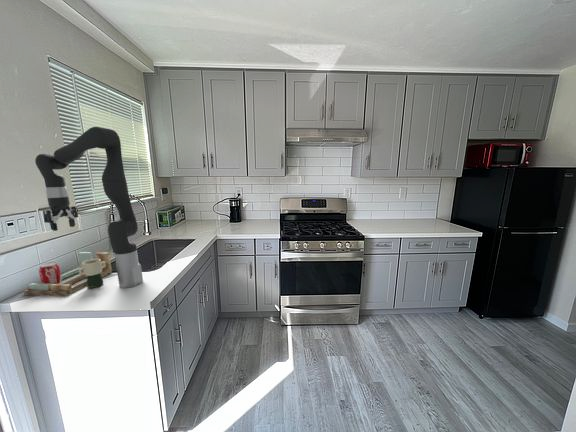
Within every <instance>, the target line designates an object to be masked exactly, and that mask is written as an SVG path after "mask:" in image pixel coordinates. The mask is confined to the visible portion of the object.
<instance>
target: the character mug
mask: <svg viewBox="0 0 576 432" xmlns="http://www.w3.org/2000/svg"><path fill="white" fill-rule="evenodd" d="M102 263H103V266H102ZM82 266H83V267H82V268H81V267H78V268H79V272H78V273H79V274H80V275H82V274H85V275H86V276H88V277H86V279H87V285H86V287H88V288H98V287H100V286H101V285H103V284H104V280H103V277H102V276H101V274H100V273H102V268H104V267H106V265H105V261H103V262H101V259H96V258H93V259H91V260H87V261H84V262H83V263H82ZM82 269H83V271H81V270H82ZM79 274H78V275H79Z"/></svg>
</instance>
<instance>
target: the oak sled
mask: <svg viewBox="0 0 576 432" xmlns="http://www.w3.org/2000/svg"><path fill="white" fill-rule="evenodd" d="M95 259H101V262H103V261H105V265H106V267H104V268H102V272H101V273H100V274H101V276H102V278H103V277H105V276H107V275H109V274H111V273H113V269H112V264H111V257H110V252H102V251H101V252H100V251H99V252H98V251H97V252H95ZM102 266H103V263H102ZM108 273H109V274H108ZM87 277H88V276H86V275H85V274H82V275H80V276H78V277H76V278H73V277H72V278H73V279H71V280H69V281H67V282H65V283H62V284H51V285H49V286H50V290H51V291H68V294H69V295H70V294H72V293H74V292H76V291H77V290H81V289H82V288H84V287H85V286H86V287H87V280H85V281H83V282H80V283H78V282H79V281H81V280H83V279H85V278H87ZM75 283H78V284H76V285H74V286H72V284H75Z"/></svg>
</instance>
